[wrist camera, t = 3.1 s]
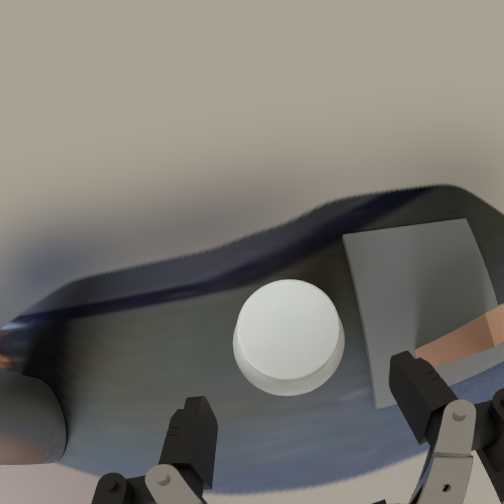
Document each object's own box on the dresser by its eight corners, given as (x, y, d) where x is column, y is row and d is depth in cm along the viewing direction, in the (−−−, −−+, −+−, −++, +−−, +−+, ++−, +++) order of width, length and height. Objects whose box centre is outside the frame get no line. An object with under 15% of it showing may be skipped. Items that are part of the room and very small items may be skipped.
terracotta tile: (486, 337, 16) (560, 298, 8) (419, 370, 16) (494, 346, 8) (480, 319, 16) (551, 272, 9) (414, 349, 17) (484, 312, 9)
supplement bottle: (249, 392, 18) (209, 391, 10) (255, 319, 20) (224, 262, 12) (327, 394, 17) (356, 397, 9) (329, 321, 19) (353, 262, 11)
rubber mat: (374, 409, 16) (376, 409, 15) (342, 238, 22) (342, 234, 22) (505, 359, 15) (509, 357, 14) (463, 221, 21) (465, 218, 21)
